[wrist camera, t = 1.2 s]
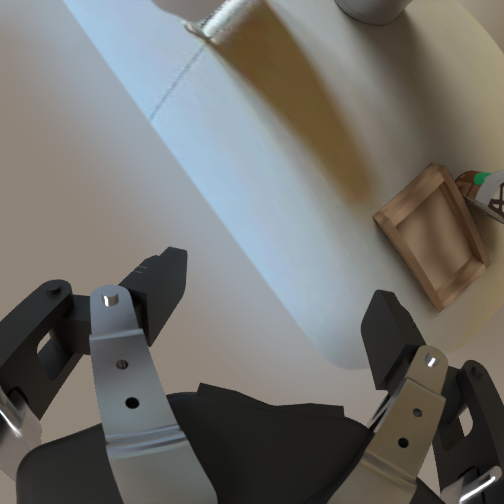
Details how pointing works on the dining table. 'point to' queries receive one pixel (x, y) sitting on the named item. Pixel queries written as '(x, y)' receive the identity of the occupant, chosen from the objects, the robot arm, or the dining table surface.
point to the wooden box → (435, 235)
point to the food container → (484, 192)
